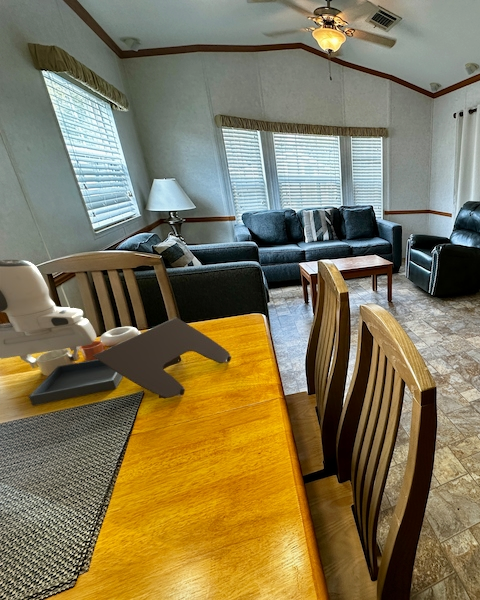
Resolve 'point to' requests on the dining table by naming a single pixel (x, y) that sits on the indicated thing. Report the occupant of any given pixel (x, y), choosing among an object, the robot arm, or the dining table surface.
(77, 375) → the tray
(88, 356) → the terracotta bowl
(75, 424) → the dining table surface
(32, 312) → the robot arm
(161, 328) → the laptop tray
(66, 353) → the cream bowl
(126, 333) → the donut
